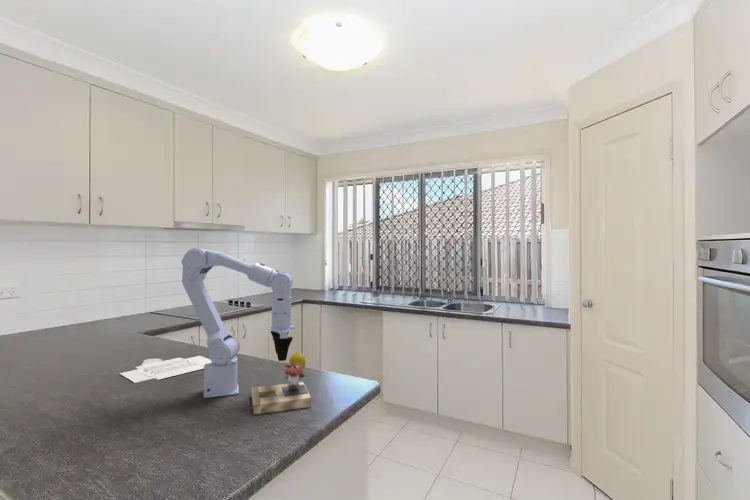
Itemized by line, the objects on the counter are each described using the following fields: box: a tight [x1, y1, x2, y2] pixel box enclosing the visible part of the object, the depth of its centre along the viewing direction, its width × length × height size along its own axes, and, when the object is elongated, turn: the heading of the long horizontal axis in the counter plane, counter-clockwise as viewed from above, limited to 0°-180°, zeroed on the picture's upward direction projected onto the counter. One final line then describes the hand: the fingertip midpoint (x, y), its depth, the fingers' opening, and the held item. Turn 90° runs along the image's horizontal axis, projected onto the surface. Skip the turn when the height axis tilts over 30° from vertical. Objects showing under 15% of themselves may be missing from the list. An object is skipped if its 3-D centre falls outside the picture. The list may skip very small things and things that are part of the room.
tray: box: [118, 355, 212, 384], centre depth 134 cm, size 20×28×4 cm
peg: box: [284, 363, 304, 392], centre depth 107 cm, size 5×5×7 cm
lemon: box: [288, 351, 306, 371], centre depth 128 cm, size 6×6×8 cm
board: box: [251, 381, 312, 416], centre depth 105 cm, size 15×13×3 cm
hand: (280, 356), depth 113 cm, fingers open, 7 cm apart
